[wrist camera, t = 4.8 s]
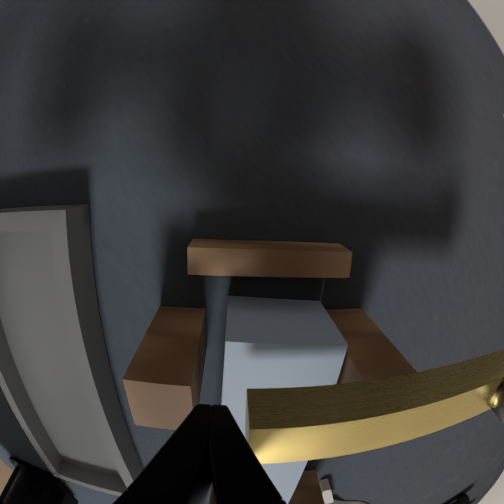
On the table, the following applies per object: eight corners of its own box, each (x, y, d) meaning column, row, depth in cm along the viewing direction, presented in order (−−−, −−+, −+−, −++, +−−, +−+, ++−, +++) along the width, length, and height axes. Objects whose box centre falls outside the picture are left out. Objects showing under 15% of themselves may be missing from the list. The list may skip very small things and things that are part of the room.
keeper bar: (244, 427, 8) (249, 496, 5) (246, 384, 7) (252, 459, 5) (489, 382, 8) (521, 415, 6) (505, 346, 8) (543, 376, 5)
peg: (217, 484, 16) (216, 527, 13) (228, 292, 13) (225, 341, 9) (270, 485, 17) (276, 527, 13) (317, 298, 13) (348, 344, 9)
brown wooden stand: (188, 484, 16) (182, 541, 11) (156, 237, 12) (105, 281, 6) (310, 482, 16) (323, 536, 11) (370, 244, 12) (442, 285, 7)
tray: (61, 459, 15) (53, 475, 13) (-20, 210, 10) (-43, 216, 9) (148, 481, 16) (144, 501, 14) (89, 204, 11) (65, 209, 9)
